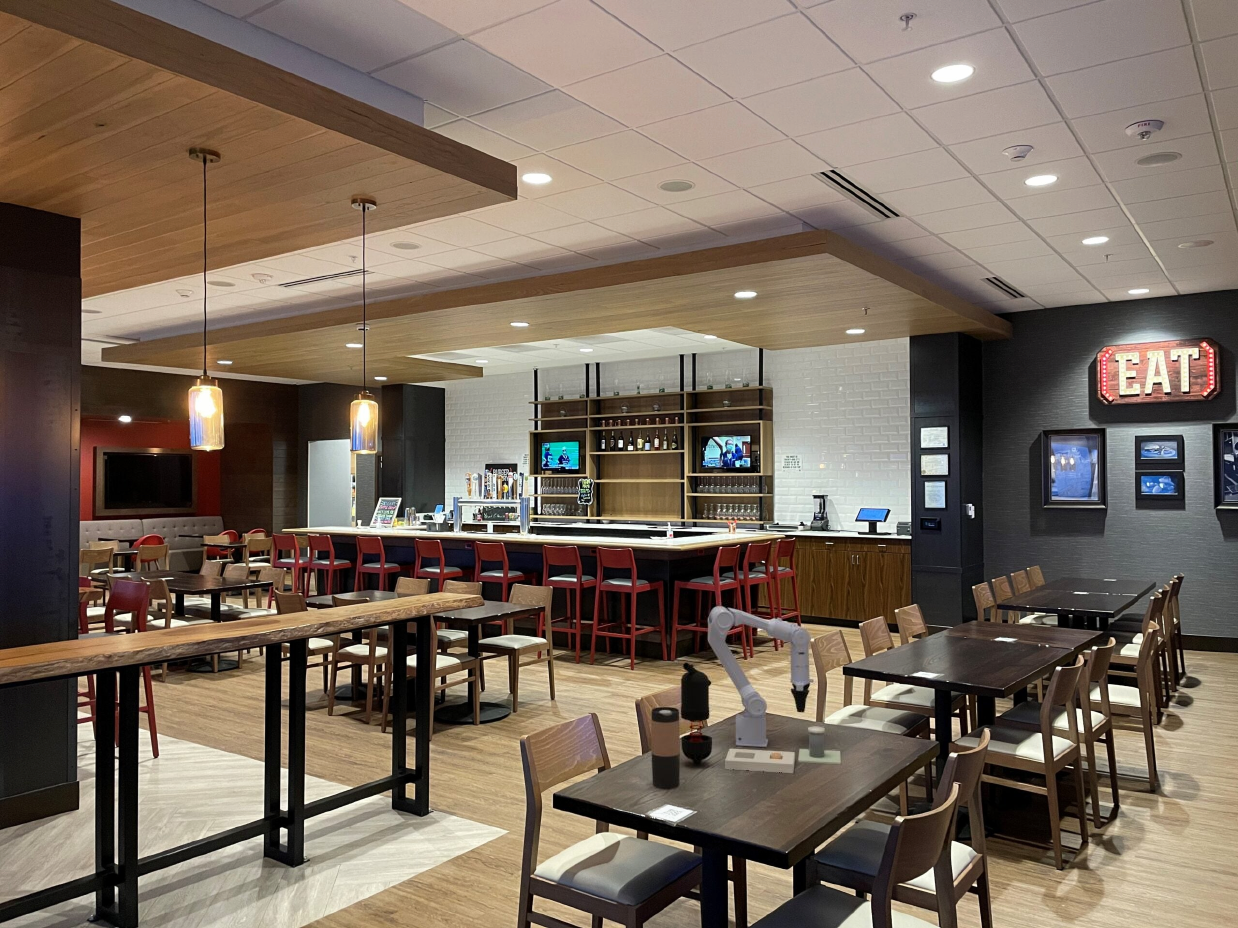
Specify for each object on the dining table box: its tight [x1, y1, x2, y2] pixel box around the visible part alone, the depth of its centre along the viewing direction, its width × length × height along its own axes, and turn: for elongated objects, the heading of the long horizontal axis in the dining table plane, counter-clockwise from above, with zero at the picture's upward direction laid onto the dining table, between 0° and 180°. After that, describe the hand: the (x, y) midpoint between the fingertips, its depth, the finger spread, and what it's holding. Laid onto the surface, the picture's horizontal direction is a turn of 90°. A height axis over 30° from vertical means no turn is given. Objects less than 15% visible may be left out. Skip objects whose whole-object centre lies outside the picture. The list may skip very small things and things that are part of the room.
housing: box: [724, 748, 796, 774], centre depth 260 cm, size 19×12×2 cm, turn 77°
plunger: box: [771, 753, 781, 759], centre depth 259 cm, size 3×3×2 cm
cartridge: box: [807, 725, 826, 758], centre depth 267 cm, size 5×5×8 cm
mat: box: [797, 748, 842, 766], centre depth 267 cm, size 12×12×1 cm
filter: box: [680, 662, 713, 766], centre depth 263 cm, size 14×9×30 cm
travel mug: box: [650, 706, 681, 790], centre depth 244 cm, size 8×8×20 cm
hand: (801, 708), depth 284 cm, fingers open, 7 cm apart
